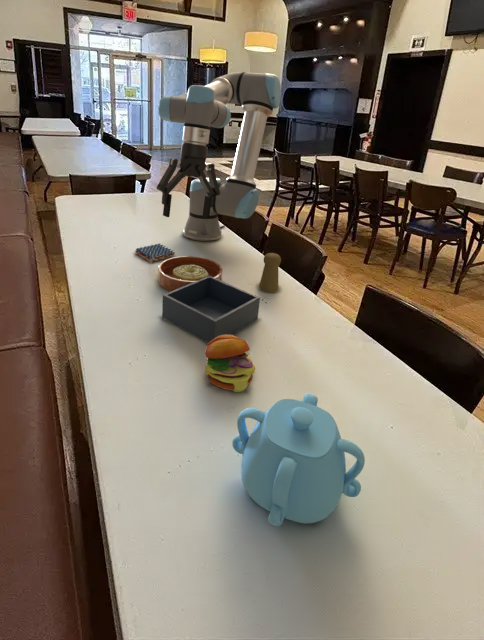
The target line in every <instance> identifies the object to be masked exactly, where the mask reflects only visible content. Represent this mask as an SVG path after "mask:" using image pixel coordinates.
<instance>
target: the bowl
mask: <svg viewBox="0 0 484 640" xmlns="http://www.w3.org/2000/svg"><path fill="white" fill-rule="evenodd" d="M191 264H193V265H197V266H200V267H202V268H204V269H205V270H206V271H207V273H208V276H211V277H213V278H216V279H218V280H220V281H223V268H222V266H221V265H220V264H219V263H217V261H214V260H212V259H209V258H206V257H201V256H194V255H193V256H192V255H181V256H173V257H171V258H170V257H169V258H166V259H164V260H163V261H162V262H160V263H159V265H158V268H157V269H158V270H157V281H158V284H159V285H160V286H161V287H162V288H163V289H165V290H167V291H168V292H171V291H174V290H176V289H179V288H181V287H183V286H186V285H188V284H191V283H193V282H196V281H185V280H179V279H175V278H173V270H174V269H175V268H176V267H179V266H182V265H191Z"/></svg>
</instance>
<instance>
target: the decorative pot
mask: <svg viewBox="0 0 484 640" xmlns="http://www.w3.org/2000/svg"><path fill="white" fill-rule="evenodd" d="M318 400H319V398H318V396H316V395H315V394H313V393H309V392H307V393H305V394H304V395H303V397H302V400H298V399H293V398H283V399H280V400H278V401H276V402H275V403H274V404H273V405H272V406H271V407H270V408H269V409H268V410H267V411H266V412H264V411H263V410H261V409H259V408H255V407H247V408H244V409H243V410H242V411H240V413H239V414H238V416H237V421H236V425H237V426H236V427H237V432H238V434H236V435H235V436H234V437H233V439H232V441H231V442H232V443H231V444H232V448H233V449H234V451H235V452H236V453H238V454H239V455H242V459H241V467H240V468H241V469H240V475H241V480H242V485H243V487H244V489H245V491H246V493H247V494H248V496H249V497H250V498H251V499H252V500H253V502H254V503H256V504H257V505H258V506H260V507H262V508H263V509H264V510H266V511H268V512H269V514H268V517H267V521H268V522H269V524H271V525H272V526H273V527H280V526H281V525H282V524H283V523H284V521H285V520H289V521H291V522H294V523H298V524H299V523H300V524H306V525H307V524H315V523H318V522H320V521H323V520H325V519H326V518H327V517H329V516H330V515H331V514H332V513H333V511H334V510H335V509H336V508H337V506H338V505H339V502H340V501H341V498H342V496H343V495H344V496H346V497H349V498H356V497H358V496H359V495H360V493H361V492H362V485H361V483H360V481H359V480H358V479H357V477H358V476H360V474H361V472H362V471H363V469H364V467H365V462H366V461H365V460H366V459H365V454H364V452H363V450H362V449H361V448H360V446H358V444H356V443H355V442H352V441H351V440H348V439H344V438H343V439H342V436H341V434H340V430H339V427H338V425H337V422H336V420H335V418H334V417H333V416H332V414H331V413H330V412H329V411H327V410H325V409H324V408H321V407H319V406H318ZM246 419H252V420H254V421H256V424H255V425H254V427H253V429H252V430H251V433H250V434H249V431H248V427H247V423H246ZM345 453H347V454H349V455H351V456H352V457H354V458H355V459H356V461H355V463H354V464H353V465H352V467H350V468H349V469H348V471H347V468H346V467H347V465H346V455H345Z"/></svg>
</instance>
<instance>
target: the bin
mask: <svg viewBox="0 0 484 640" xmlns="http://www.w3.org/2000/svg"><path fill="white" fill-rule="evenodd" d="M161 303H162V305H161V306H162V311H161V318H162V319H164V320H166V321H167V322H170V323H172V325H175V326H176V327H179V328H180V329H181V330H184V331H186V332H188V333H189V334H191V335H193V336H195V337H197V338H198V339H200V340H201V341H204V342H206V343H207V344H208V343H209V342H210V341H211V340H213V339H214V338H216V337H217V336H220V335H233V336H234V335H235V334H236V333H238V332H240V331H241V330H243V329H244V328H246V327H247V326H249V325H251V324H252V323H254V322H256V321H257V320H258V319H259V312H260V310H259V309H260V303H261V297H260V296H258V295H255V294H253V293H251V292H248V291H246V290H244V289H241V288H239V287H236V286H234V285H232V284H230V283H227V282H225V281H223V280H222V281H220V280H218V279H216V278H213V277H211V276H208V277H205V278H203V279H200V280H198V281H196V282H193V283H191V284H188V285H186V286H183V287H181V288H179V289H176V290H174V291H168V292H167V293H164V294H162V302H161Z"/></svg>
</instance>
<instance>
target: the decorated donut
mask: <svg viewBox="0 0 484 640" xmlns="http://www.w3.org/2000/svg"><path fill="white" fill-rule="evenodd" d="M205 277H208V273H207V271H206V270H205V269H204V268H202V267H200V266H197V265H193V264H191V265H182V266H179V267H176V268H175V269H174V270H173V278H175V279H179V280H185V281H198V280H200V279H203V278H205Z"/></svg>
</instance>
